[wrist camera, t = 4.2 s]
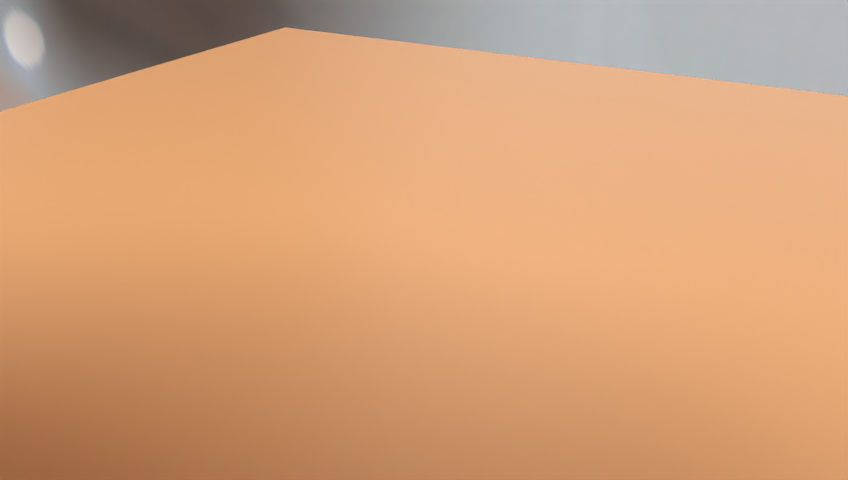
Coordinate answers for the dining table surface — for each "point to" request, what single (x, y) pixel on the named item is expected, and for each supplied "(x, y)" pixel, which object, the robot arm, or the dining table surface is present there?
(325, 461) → the tan wooden brick
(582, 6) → the dining table surface
